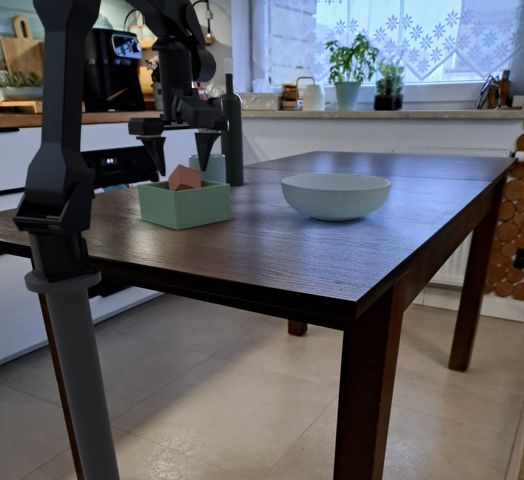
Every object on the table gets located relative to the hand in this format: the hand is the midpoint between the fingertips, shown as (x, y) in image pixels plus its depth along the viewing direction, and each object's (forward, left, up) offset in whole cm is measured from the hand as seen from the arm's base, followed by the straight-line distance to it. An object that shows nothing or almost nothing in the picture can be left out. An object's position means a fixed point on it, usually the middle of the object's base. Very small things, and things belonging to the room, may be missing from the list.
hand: (184, 173), depth 99 cm
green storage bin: (-1, -1, -8) cm, 8 cm away
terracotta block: (0, 0, -4) cm, 4 cm away
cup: (+13, +10, -8) cm, 18 cm away
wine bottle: (+34, +27, -8) cm, 44 cm away
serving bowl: (+21, -20, -8) cm, 30 cm away
